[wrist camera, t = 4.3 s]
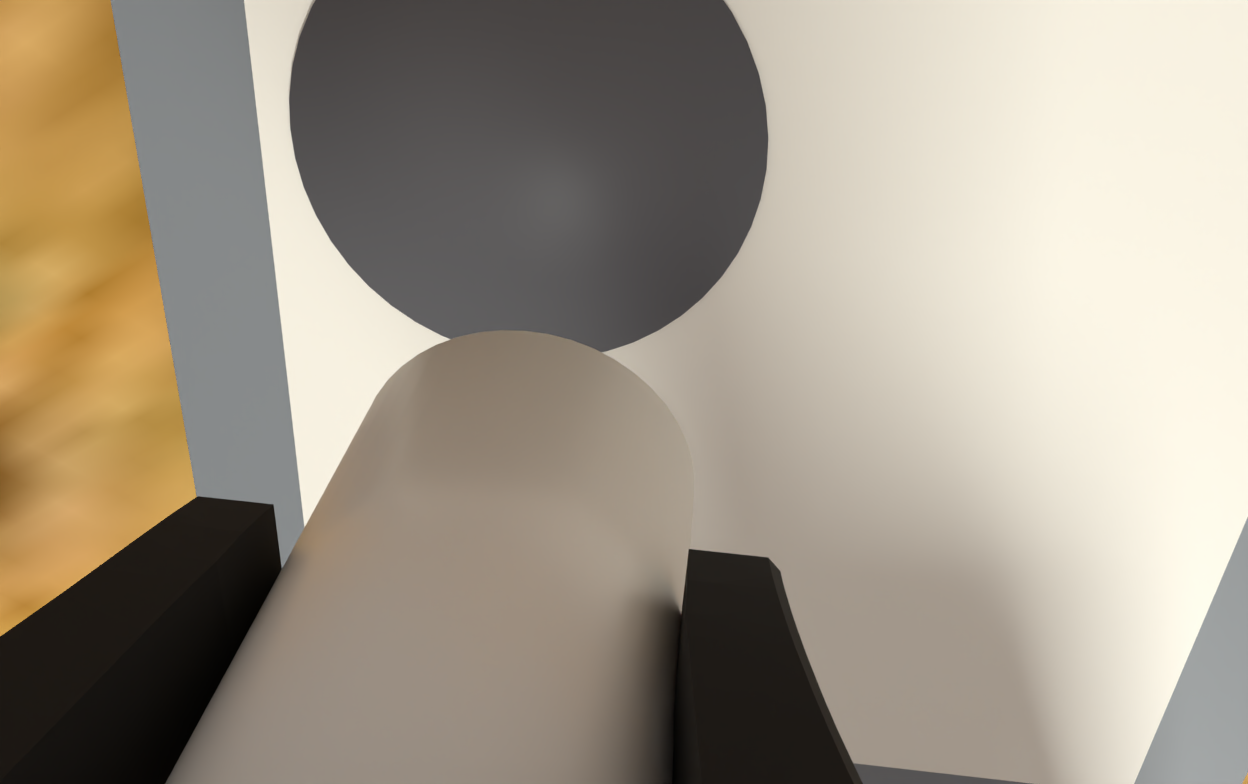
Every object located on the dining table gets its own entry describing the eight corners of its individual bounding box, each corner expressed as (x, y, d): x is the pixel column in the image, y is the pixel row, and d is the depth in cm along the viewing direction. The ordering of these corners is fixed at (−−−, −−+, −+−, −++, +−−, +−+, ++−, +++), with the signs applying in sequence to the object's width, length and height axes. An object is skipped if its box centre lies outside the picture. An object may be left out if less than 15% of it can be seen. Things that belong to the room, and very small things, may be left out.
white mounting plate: (1187, 834, 24) (1202, 874, 23) (255, 727, 25) (238, 761, 24) (1814, -478, 12) (1888, -491, 12) (46, -571, 13) (1, -589, 13)
